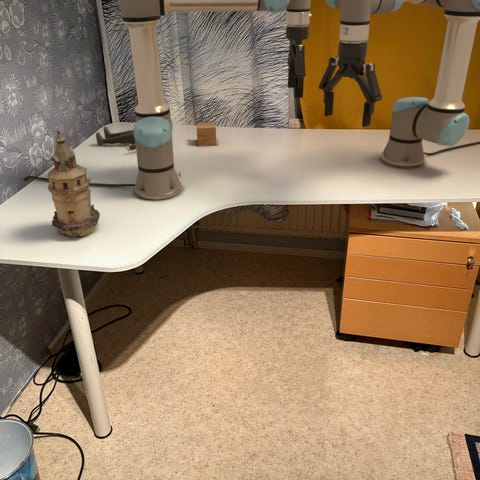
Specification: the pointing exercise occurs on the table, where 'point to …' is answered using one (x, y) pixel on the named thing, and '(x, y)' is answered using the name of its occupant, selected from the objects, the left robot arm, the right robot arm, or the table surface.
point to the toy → (117, 138)
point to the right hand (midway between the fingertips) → (346, 120)
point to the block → (206, 134)
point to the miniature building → (70, 193)
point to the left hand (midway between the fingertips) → (295, 92)
